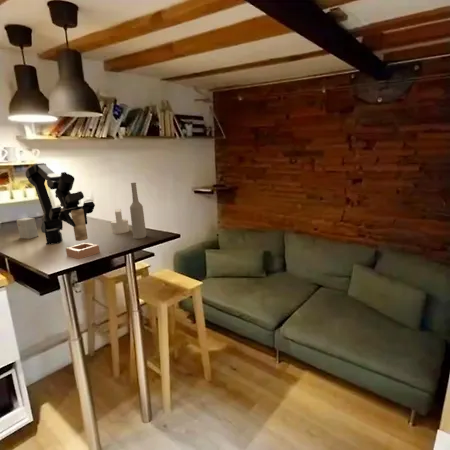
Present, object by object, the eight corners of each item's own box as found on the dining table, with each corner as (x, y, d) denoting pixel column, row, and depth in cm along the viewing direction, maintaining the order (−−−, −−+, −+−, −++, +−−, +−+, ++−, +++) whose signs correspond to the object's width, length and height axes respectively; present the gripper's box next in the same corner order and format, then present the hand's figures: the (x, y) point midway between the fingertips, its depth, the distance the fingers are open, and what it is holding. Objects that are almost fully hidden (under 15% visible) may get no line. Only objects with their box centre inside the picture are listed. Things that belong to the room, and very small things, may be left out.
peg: (73, 240, 147) (68, 211, 144) (79, 237, 151) (74, 209, 148) (84, 240, 146) (79, 211, 143) (89, 237, 151) (85, 209, 148)
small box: (38, 236, 188) (35, 217, 185) (29, 239, 183) (25, 220, 180) (29, 235, 191) (25, 217, 189) (19, 238, 186) (15, 219, 184)
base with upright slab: (129, 232, 185) (126, 211, 182) (112, 234, 182) (109, 212, 180) (128, 228, 193) (126, 208, 190) (112, 230, 191) (109, 210, 188)
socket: (79, 259, 143) (77, 251, 142) (66, 255, 149) (65, 248, 148) (99, 252, 151) (98, 245, 150) (87, 249, 157) (86, 242, 156)
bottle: (139, 234, 178) (133, 182, 172) (149, 235, 175) (143, 182, 168) (130, 238, 173) (123, 183, 166) (140, 239, 169) (133, 183, 163)
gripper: (46, 189, 139) (62, 217, 135) (89, 183, 153) (105, 209, 148) (42, 206, 146) (57, 234, 142) (84, 199, 160) (99, 224, 155)
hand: (80, 225), depth 146 cm, fingers closed on peg, 5 cm apart
